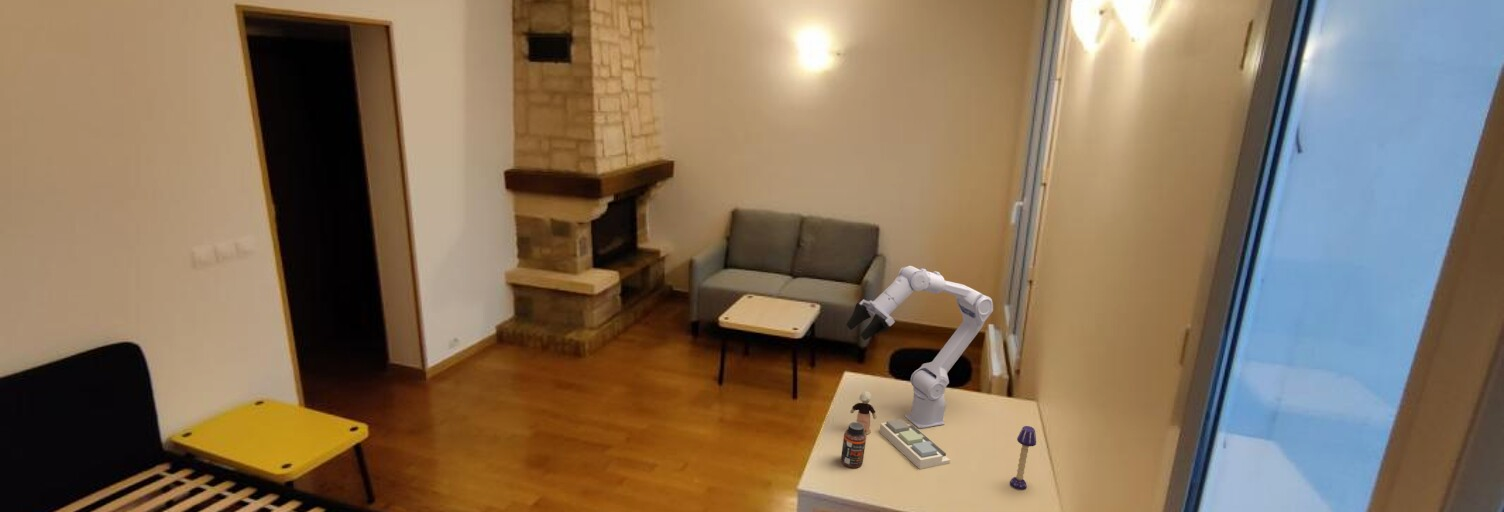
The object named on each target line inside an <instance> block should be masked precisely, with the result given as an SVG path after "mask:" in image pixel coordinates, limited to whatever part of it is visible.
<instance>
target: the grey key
mask: <svg viewBox="0 0 1504 512" xmlns="http://www.w3.org/2000/svg"><path fill="white" fill-rule="evenodd" d="M907 424H908V423H906V422H905V421H904V420H902V419H901V418H899V419H898V418H897V419H892V420H890V419H889V420H886V426H887V427H888V428H890V429H891V430H892V431H893V432H894V433H895V434H896V433H899V432H903V431H909V429H910V427H909V426H908V425H907Z"/></svg>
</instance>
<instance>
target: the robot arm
mask: <svg viewBox="0 0 1504 512" xmlns="http://www.w3.org/2000/svg"><path fill="white" fill-rule="evenodd" d="M914 291H916V292H921V291H922V292H925V293H931V294H934V295H937V294H940V293H941V292H944V293H947V294H950V295H953V296H954V297H955V298H956V303H957V306H958V308H959V310H960V313H961V316H962V322H961V323H960V325H959V326H958V327H957V329H955V331H954V333H953V334H952V335H951V337H950V338H949V339H948V340H947V342H946V343H945V344H944V345H943V347H942V348H941V349H940V351H939V352H938V353H937V355H936V356H935V357H934V358H933V360H932V361H930V362H926V363H922V364H921V366H920V367H919V368H918V369H916V370H914V372H912V374H911V376H910V385H912V386H913V398H912V405H911V411H910V412H911V413H908V414H907V413H906V414H904V417H905V418H906V419H907V420H909V422H910V423H912V425H913V426H915V427H917V429H924V428H930V427H937V426H942V425H945V422H944V417H945V411H946V400H945V399H946V398H945V396H944V393H945V391H946V388H947V386H948V385H949V384H950V380H949V376H948V373H949V371H950V370H951V369H952V368H953V366H954V365H955V363H956V362H957V361H958V360H959V358H961V356H962V354H963V353H964V352H965V351H966V349H967V348H968V347H969V346H970V344H971V342H972V341H973V340H974V339H975V338H976V336H977V335H978V333H979V332H980V331H981V330H982V328H983V327H984V324H985V323H986V320H987V319H988V318H989V317H990V316H991V314H992V313H993V312H994V303H993V299H992V298H991V297H990V296H988V295H984V294H983V293H981V292H980V291H977V290H975V289H974V288H971V287H969V286H967V285H965V284H963V283H958V282H954V281H949V280H945V277H944V276H943V275H941V273H940V272H939V271H936V270H934V271H933V272H931V271H928V270H927V269H925V268H922V267H921V268H920V269H919V268H917V267H915V266H912V265H908V266H905V267H901V268H900V269H899V271H898V275H897V277H896V278H895V279H894V281H893V282H892V283H891V284H890V285H889V286H888V287H887V288H885V290H884V291H882V292H881V293H880V294H879V295H878V296H877V297H876V298H875V299H874V300H871V299H870V300H866V299H862V300H861V301H860V302H857V303H856V304H855V307H854V310H853V312H852V314H851V316H850V318H849V320H848V321H847V323H846V327H847V328H848V329H849V330H850V331H853V329H855V328H856V327H857V326H858V325H860V324H861V323H862V322H864V321H867V320H868V319H870V318H872V316H871V315H873V318H872V320H871V321H870V323H869V324H868V325H867V326H866V327H865V329H863V331H862V332H861V333H860V337H861V338H862V340H864V341H867V340H868V339H870V338H872V337H875V335H877V334H880V333H884V332H888V331H889V327H891V326H892V325H894V323H896V321H895V320H894V318H893V317H892V316H891V315H890V314H891V313H893V311H895V310H896V309H897V308H898V307H899V306H900V305H901V304H902V303H903V302H904V301H905V300H906V299H907V298H908V297H909V296H911V294H912V293H914ZM870 314H871V315H870Z"/></svg>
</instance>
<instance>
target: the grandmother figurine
mask: <svg viewBox="0 0 1504 512" xmlns="http://www.w3.org/2000/svg"><path fill="white" fill-rule="evenodd" d="M858 399H859V400H860V401H861V402H857V403H855V404H854V405H853V406H852V408H851V409H850V411H849V413H850V414H854V412H855V411H858V412H857V416H856V417H857V418H856V422H857V423H860V424H862V425H863V426H864V431H863V432H864V433H865V434H866V435H870V434H871V433H872V431H871V429H870V426H871V415H872V418H873V419H874V420H876V419H877V418H878V417H877V413H876V410H875V408H874V406H872V404H869V403H870V402H871V399H872V394H871V393H870V391H863V392H861V393H860V395H859V398H858ZM870 413H871V414H870Z"/></svg>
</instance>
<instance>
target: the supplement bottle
mask: <svg viewBox="0 0 1504 512" xmlns="http://www.w3.org/2000/svg"><path fill="white" fill-rule="evenodd" d="M866 440H867V434H865V433H864V426H863V425H862V424H860V423H857V421H856V422H855V421H852V422H850V423H849V424H848V428H847V429H846V430H845V431H844V434H843V440H842V446H841V447H842V449H841V457H840V462H841V463H842V465H843V466H845V467H847V468H852V469H853V468H855V469H857V468H860V467H861V466H863V464H864V457H865V456H864V455H865V449H866Z"/></svg>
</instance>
